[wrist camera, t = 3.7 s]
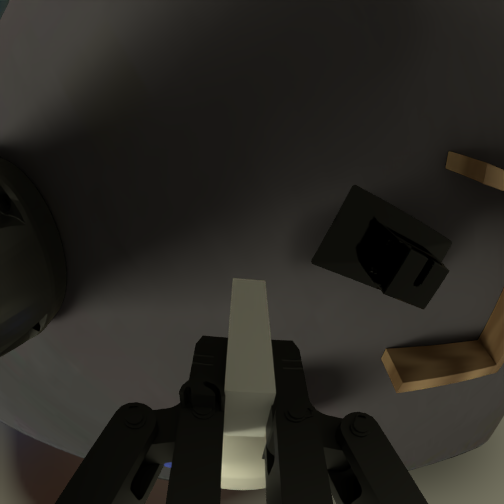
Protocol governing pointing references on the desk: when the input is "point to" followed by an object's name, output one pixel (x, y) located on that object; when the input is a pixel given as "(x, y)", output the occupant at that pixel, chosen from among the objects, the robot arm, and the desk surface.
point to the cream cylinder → (243, 463)
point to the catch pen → (462, 353)
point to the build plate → (384, 249)
